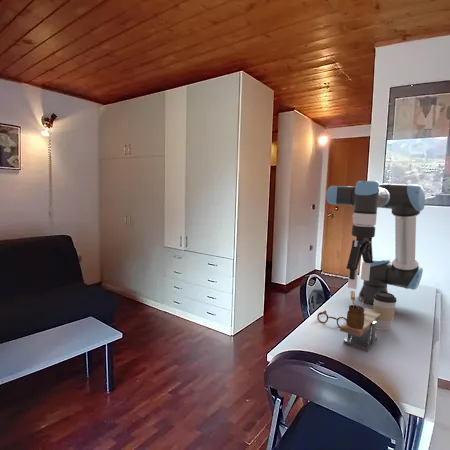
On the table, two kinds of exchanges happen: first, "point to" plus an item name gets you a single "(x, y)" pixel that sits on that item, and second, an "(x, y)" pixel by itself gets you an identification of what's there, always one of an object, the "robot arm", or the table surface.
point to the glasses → (329, 317)
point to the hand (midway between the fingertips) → (358, 283)
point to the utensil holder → (355, 314)
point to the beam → (369, 319)
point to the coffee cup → (384, 309)
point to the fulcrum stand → (363, 339)
